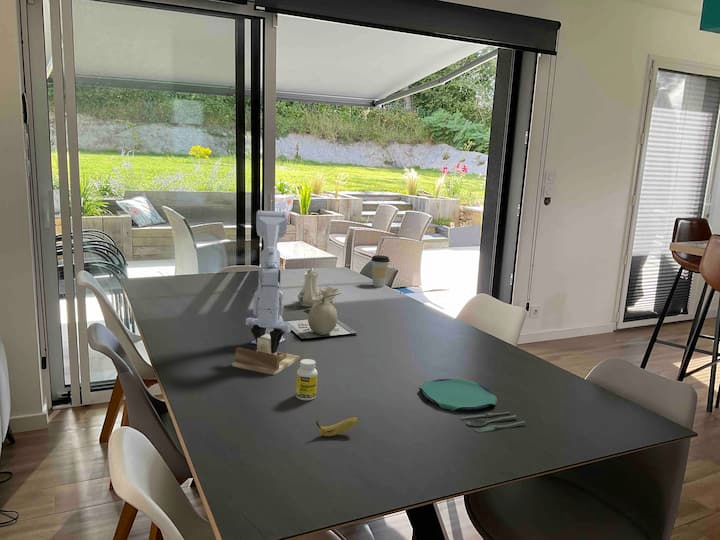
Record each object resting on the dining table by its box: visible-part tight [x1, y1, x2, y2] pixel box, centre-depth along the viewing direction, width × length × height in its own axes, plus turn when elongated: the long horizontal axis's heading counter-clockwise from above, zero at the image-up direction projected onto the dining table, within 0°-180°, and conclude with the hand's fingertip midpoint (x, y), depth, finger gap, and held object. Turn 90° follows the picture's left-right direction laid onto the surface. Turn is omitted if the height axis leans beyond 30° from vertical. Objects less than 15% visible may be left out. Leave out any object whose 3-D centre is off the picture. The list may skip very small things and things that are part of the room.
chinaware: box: [297, 267, 339, 308], centre depth 251 cm, size 28×17×17 cm, turn 179°
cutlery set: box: [418, 377, 526, 434], centre depth 156 cm, size 20×30×2 cm, turn 21°
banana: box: [315, 416, 359, 437], centre depth 134 cm, size 10×2×4 cm, turn 109°
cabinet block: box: [256, 334, 278, 355], centre depth 177 cm, size 6×4×7 cm
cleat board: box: [231, 347, 301, 376], centre depth 178 cm, size 16×14×5 cm
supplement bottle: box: [295, 358, 318, 401], centre depth 154 cm, size 5×5×10 cm
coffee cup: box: [371, 254, 391, 288], centre depth 297 cm, size 9×9×15 cm
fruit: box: [307, 292, 342, 336], centre depth 209 cm, size 10×12×15 cm
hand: (267, 351), depth 178 cm, fingers closed on cabinet block, 4 cm apart
